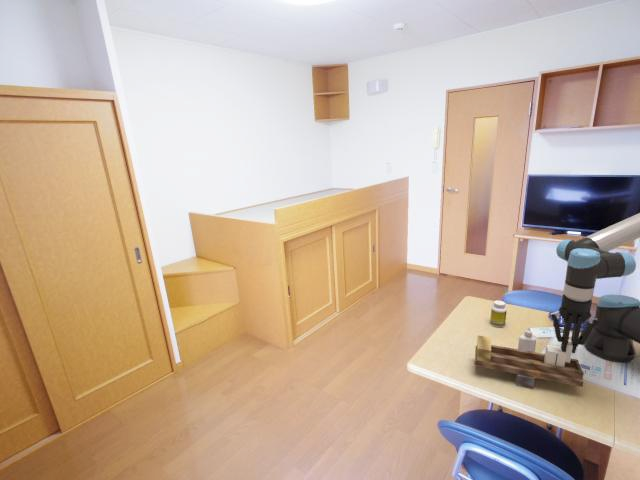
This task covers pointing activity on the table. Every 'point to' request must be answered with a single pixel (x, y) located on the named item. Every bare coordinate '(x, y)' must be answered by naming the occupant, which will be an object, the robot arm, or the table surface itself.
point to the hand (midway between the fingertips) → (566, 359)
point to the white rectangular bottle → (527, 341)
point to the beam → (525, 364)
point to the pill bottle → (498, 314)
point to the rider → (554, 356)
